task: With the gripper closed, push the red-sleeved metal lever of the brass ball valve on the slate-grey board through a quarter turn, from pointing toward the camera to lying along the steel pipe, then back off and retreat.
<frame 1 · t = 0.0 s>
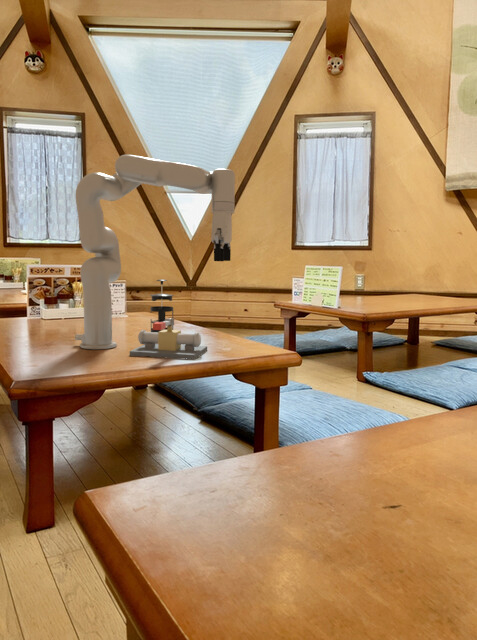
hand: (222, 261, 174), 31 cm above the table, tool pointing down, fingers open, 9 cm apart
lever: (164, 324, 172), point 11 cm above the table, hinge at -90.0°
french press: (161, 337, 211), on the table
valve: (169, 353, 178), on the table
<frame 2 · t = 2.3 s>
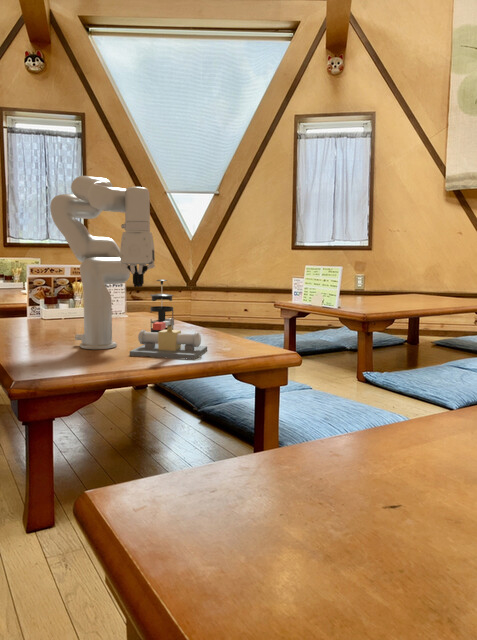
hand: (138, 286, 167), 23 cm above the table, tool pointing down, fingers closed
nothing on the table moved.
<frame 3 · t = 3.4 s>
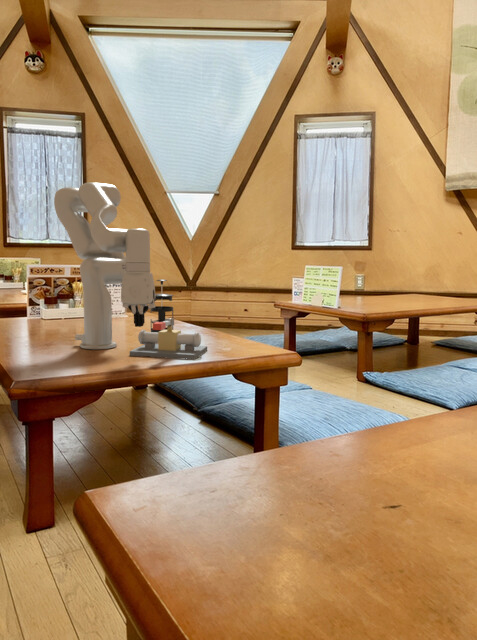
hand: (139, 326, 168), 10 cm above the table, tool pointing down, fingers closed
nothing on the table moved.
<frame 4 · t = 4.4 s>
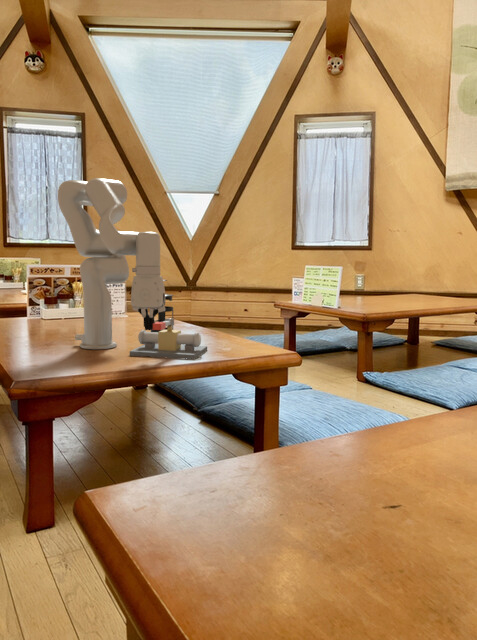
hand: (149, 329, 168), 9 cm above the table, tool pointing down, fingers closed
lever: (164, 324, 172), point 11 cm above the table, hinge at -90.0°, touching gripper
everything else where it was.
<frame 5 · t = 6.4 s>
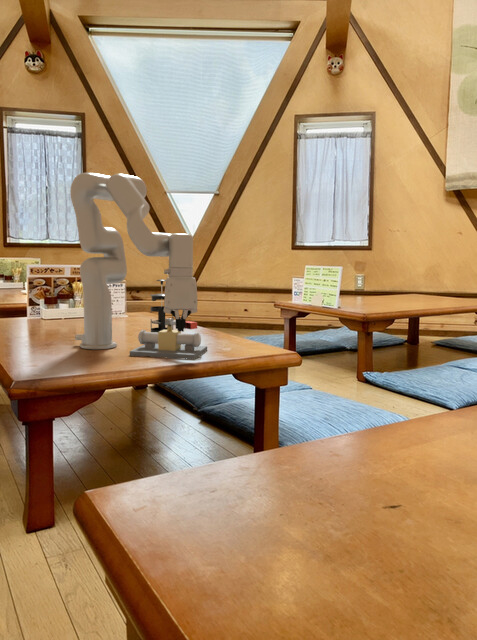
hand: (180, 330, 168), 9 cm above the table, tool pointing down, fingers closed
lever: (180, 323, 173), point 11 cm above the table, hinge at -30.6°, touching gripper
everything else where it was.
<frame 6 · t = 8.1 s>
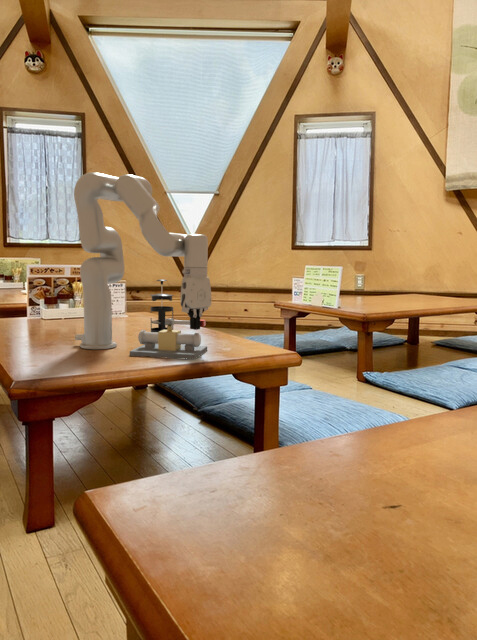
hand: (195, 329, 172), 9 cm above the table, tool pointing down, fingers closed
lever: (184, 322, 176), point 11 cm above the table, hinge at 4.3°, touching gripper
everything else where it was.
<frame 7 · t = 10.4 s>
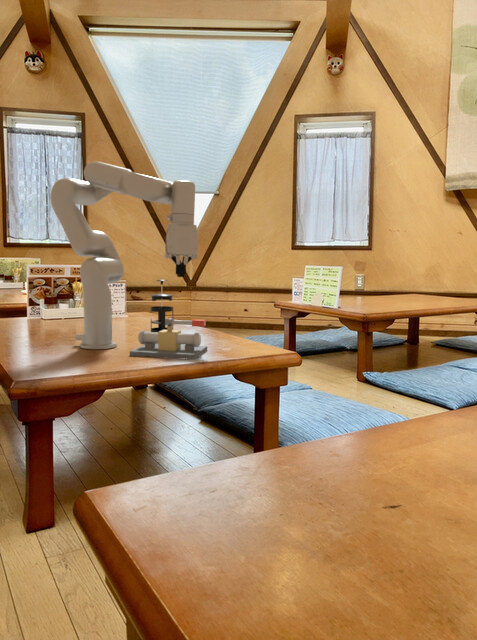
hand: (180, 276, 173), 26 cm above the table, tool pointing down, fingers closed
lever: (184, 322, 176), point 11 cm above the table, hinge at 4.0°
everything else where it was.
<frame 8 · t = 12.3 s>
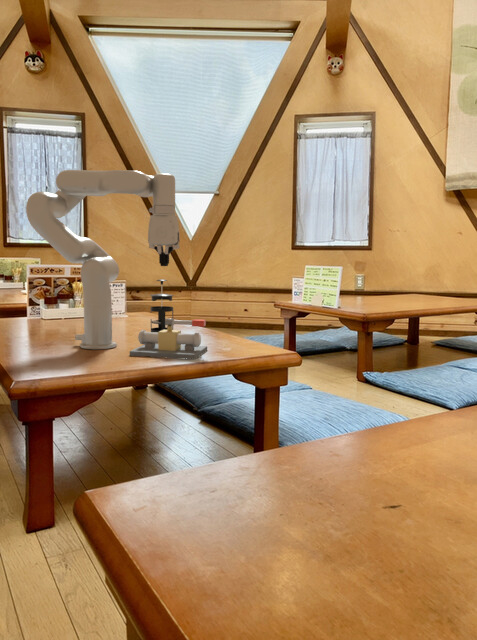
hand: (164, 265, 181), 29 cm above the table, tool pointing down, fingers closed
nothing on the table moved.
at the end: lever at +4° (first picture: -90°); the gripper is holding nothing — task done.
